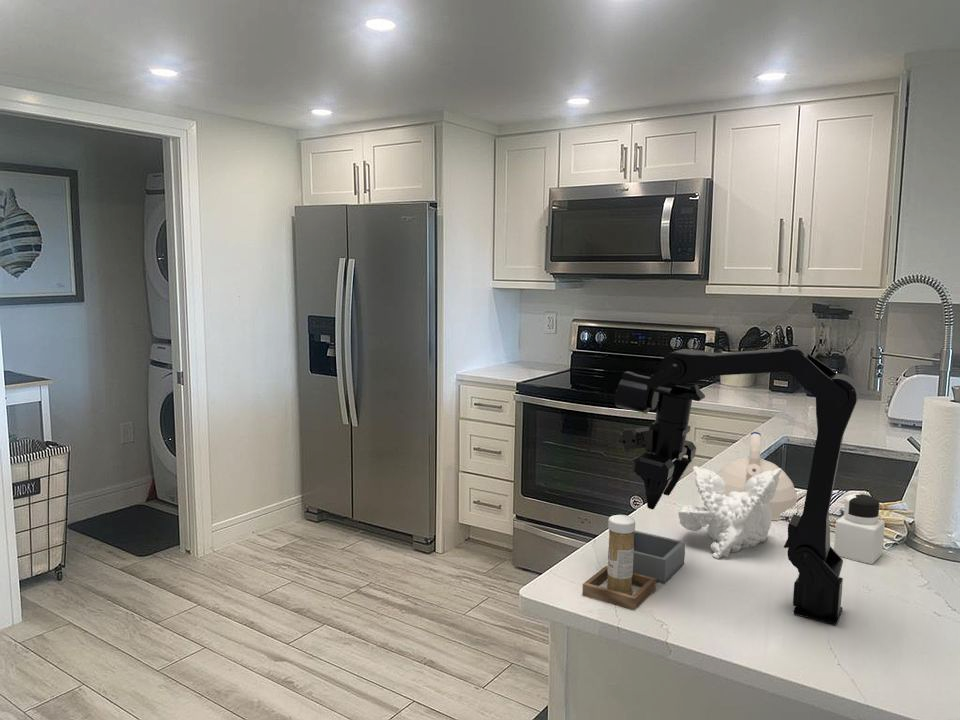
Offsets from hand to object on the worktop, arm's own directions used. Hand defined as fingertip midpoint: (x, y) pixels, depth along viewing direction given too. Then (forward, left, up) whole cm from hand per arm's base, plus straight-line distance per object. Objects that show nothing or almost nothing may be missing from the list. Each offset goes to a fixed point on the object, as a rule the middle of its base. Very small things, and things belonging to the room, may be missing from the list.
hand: (658, 501), depth 132 cm
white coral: (-6, -24, -14) cm, 28 cm away
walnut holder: (+3, +10, -14) cm, 18 cm away
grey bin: (+3, -3, -14) cm, 15 cm away
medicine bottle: (-29, -33, -14) cm, 46 cm away
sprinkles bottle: (+3, +10, -14) cm, 18 cm away
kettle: (-4, -51, -15) cm, 53 cm away
